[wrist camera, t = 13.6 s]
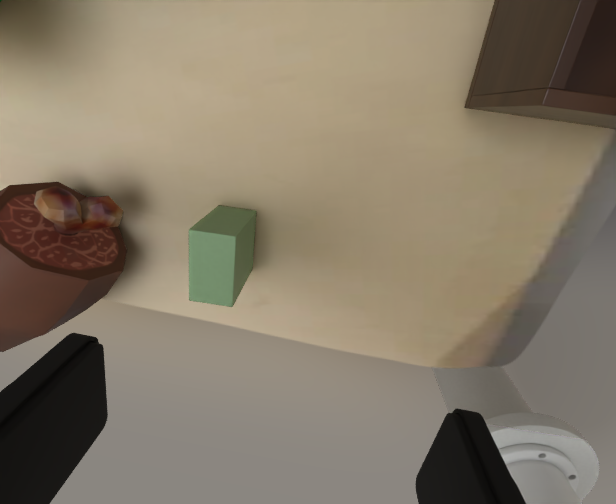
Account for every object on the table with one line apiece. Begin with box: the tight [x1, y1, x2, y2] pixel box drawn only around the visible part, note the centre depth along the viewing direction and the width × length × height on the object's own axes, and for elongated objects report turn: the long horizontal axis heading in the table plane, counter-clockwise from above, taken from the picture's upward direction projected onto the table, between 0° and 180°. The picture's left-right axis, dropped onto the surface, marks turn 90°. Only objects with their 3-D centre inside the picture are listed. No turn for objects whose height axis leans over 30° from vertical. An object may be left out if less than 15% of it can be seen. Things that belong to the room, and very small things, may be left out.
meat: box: [0, 182, 127, 352], centre depth 29 cm, size 20×12×10 cm
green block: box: [189, 205, 257, 307], centre depth 29 cm, size 6×4×7 cm, turn 172°
